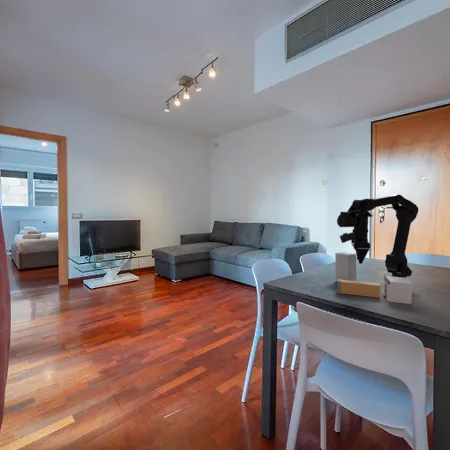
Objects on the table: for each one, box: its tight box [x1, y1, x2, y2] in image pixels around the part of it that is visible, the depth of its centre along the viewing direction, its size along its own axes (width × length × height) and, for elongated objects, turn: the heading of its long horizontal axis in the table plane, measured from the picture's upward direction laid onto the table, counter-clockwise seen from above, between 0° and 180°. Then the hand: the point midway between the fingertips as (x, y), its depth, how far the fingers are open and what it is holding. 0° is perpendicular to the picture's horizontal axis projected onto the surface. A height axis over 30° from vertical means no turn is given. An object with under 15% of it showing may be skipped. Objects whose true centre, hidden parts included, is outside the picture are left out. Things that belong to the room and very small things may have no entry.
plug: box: [336, 279, 381, 298], centre depth 116 cm, size 4×16×5 cm, turn 68°
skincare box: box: [334, 251, 357, 282], centre depth 135 cm, size 8×6×15 cm
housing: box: [382, 275, 413, 305], centre depth 110 cm, size 10×8×8 cm
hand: (359, 261), depth 121 cm, fingers open, 9 cm apart
